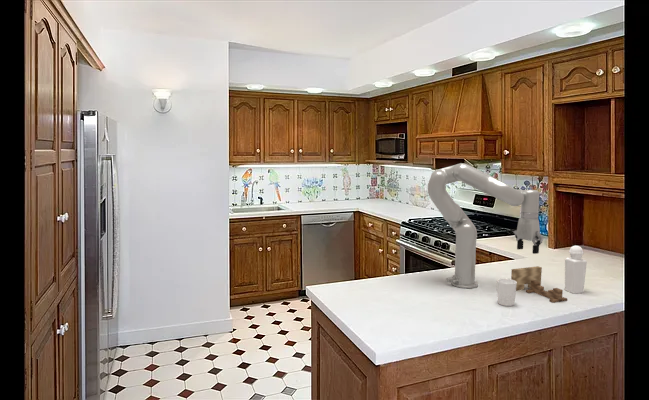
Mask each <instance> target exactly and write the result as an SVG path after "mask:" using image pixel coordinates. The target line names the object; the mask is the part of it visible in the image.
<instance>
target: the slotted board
mask: <svg viewBox="0 0 649 400" xmlns="http://www.w3.org/2000/svg"><path fill="white" fill-rule="evenodd" d="M542 269H543V268H542V266H531V267H530V266H529V267H520V268H519V267H518V268H512V269H511V272H510V273H511V276H510V277H511V278H510V279H511V280H514V281H516V282H517V286H516V292H517V291H523V290H525V285H527V287H526V288H528V289H531V280H536V281H539V282H540V286H542V273H543V270H542Z"/></svg>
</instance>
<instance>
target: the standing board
mask: <svg viewBox="0 0 649 400" xmlns="http://www.w3.org/2000/svg"><path fill="white" fill-rule="evenodd" d="M563 292H564V290H563V289H561V288H558V287H555V288H552V289H548V290H545V287H544V286H543V285H541V286H540V282H539V281H536V280H531V289H530V288H528V289H525V293H527V294H533V293H534V294H537V295H539V296H542V297H545V298H547V299H549V300H548V301H549V302H550V303H554V304H555V303H560V302H567V301H568V298H567V297H564V296H563V294H564V293H563Z"/></svg>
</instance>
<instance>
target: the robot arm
mask: <svg viewBox="0 0 649 400" xmlns="http://www.w3.org/2000/svg"><path fill="white" fill-rule="evenodd" d="M457 182H461V183H464V184H466V185H467V186H470V187H472V188H473V189H475V190H478V191H480V192H482V193H484V194H486V195H489V196H491V197H494V198H496V199H498V200H499V201H501V202H503V203H506V204H508V205H510V206H512V207H519V206H520V213H519V214H520V217H519V218H518V222H517V227H516V229H515V230H513V234H514V237H515V238H516V242H517V243H516V250H523V249H524V240H526V241H529V242H532V244H533V245H532V252H531V253H532V254H533V255H536V254H539V253H540V246H541V244H542V243H543V240H544V239H545V237H544V236H543V235H542V234H541V233H540V231H541V230H540V228H541V227H540V221H539V208H540V205H539V204H540V192H539V191H538V190H537V189H516V188H514V187H512V186H510V185H508V184H506V183H504V182H502V181H500V180H498V179H496V178H495V177H493V176H491V175H490V174H488V173H485V172H484V171H481V170H480V169H477V168H475V167H473V166H471V165H469V164H467V163H462V162H460V163H457V164H454V165H449V166H446V167H442V168H439V169H435V170H433V172H432V173H431V174H430V177H429V181H428V183H427V195H428V196H429V198H430V200H431V201H432V203H433V204H434V206H435V208H437V210H438V211H439V212H440V214H441V216H442V217H443V219H444V220H445V221H446V222H447V223H448V225H449V226H450V227H451V228H452V229H453V231H454V232H455V250H454V253H455V254H454V255H455V257H454V258H455V260H454V274H453V275H452V277H446V278H445V281H446V282H447V283H451V285H452V286H454V287H457V288H463V289H474V288H478V286H479V283H478V282H477V281H476V280H475V279H476V255H477V253H476V251H477V250H476V249H477V241H478V239H477V238H478V232H477V231H478V230H477V227H476V226H475V225H474V222H472V220H471V219H470V218H469V216H468V215H467V214H466V213H465V212H464V210H463V208H462V207H461V206H460V205H459V204H458V203H456V202H455V200H454V199H453V198H452V197H451V195H450V194H449V192H448V191H447V188H446V185H448V184H453V183H457Z"/></svg>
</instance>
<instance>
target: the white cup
mask: <svg viewBox="0 0 649 400" xmlns="http://www.w3.org/2000/svg"><path fill="white" fill-rule="evenodd" d="M516 286H517V282H516V281H514V280H511V278H498V279H497V280H496V291H497V294H496V296H497V304H499V305H501V306H505V307H513V306H514V305H515V303H516V302H515V301H516V300H515V299H516V294H517V291H516Z"/></svg>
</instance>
